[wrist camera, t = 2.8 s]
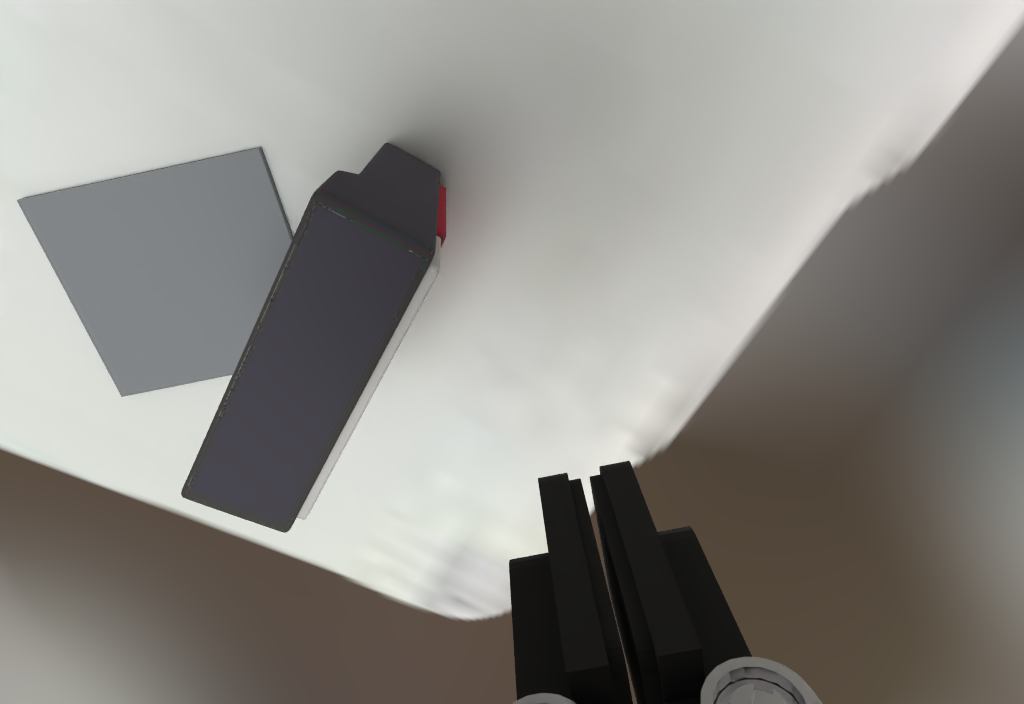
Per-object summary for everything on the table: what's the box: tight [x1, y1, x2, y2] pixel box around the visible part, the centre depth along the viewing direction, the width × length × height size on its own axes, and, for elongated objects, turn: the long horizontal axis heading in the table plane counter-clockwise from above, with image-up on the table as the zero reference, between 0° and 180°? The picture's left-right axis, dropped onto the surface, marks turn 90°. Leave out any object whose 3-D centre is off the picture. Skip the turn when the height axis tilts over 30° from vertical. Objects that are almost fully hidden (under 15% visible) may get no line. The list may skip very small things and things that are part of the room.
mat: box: [17, 147, 293, 397], centre depth 32 cm, size 12×11×1 cm
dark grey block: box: [181, 143, 446, 533], centre depth 25 cm, size 11×4×15 cm, turn 150°
